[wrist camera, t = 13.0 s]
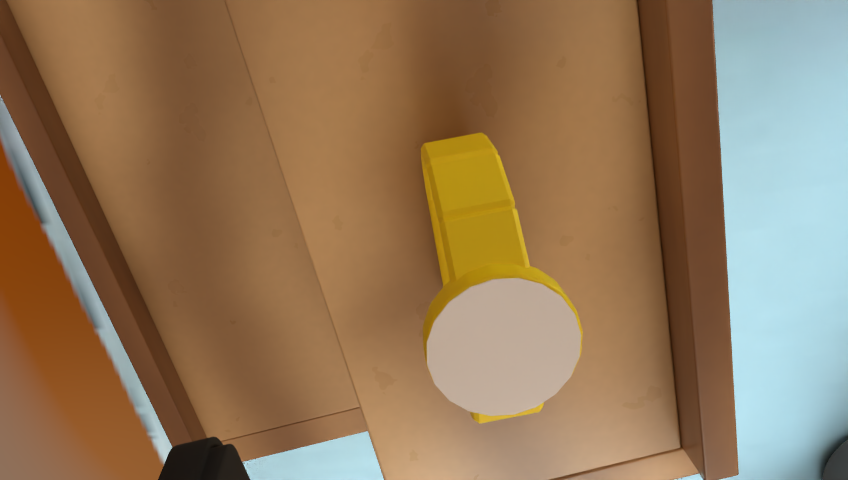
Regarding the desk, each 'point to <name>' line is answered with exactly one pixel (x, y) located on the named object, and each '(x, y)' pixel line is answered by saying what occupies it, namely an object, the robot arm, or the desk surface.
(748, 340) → the desk surface
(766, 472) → the desk surface
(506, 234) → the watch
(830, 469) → the streaming box
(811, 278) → the desk surface
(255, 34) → the stand
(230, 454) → the robot arm
